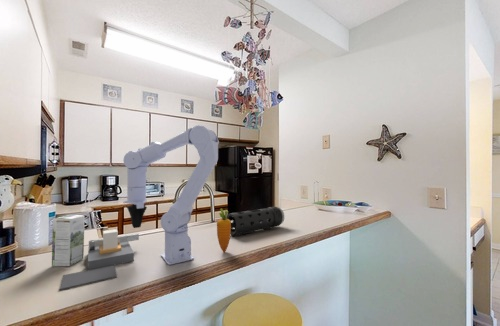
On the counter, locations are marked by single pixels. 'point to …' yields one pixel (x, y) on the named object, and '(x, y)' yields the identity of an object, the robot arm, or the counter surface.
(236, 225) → the muzzle brake
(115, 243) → the plug
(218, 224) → the carrot
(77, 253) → the syrup box
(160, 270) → the counter surface
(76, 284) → the mat
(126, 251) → the socket block
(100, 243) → the clip
